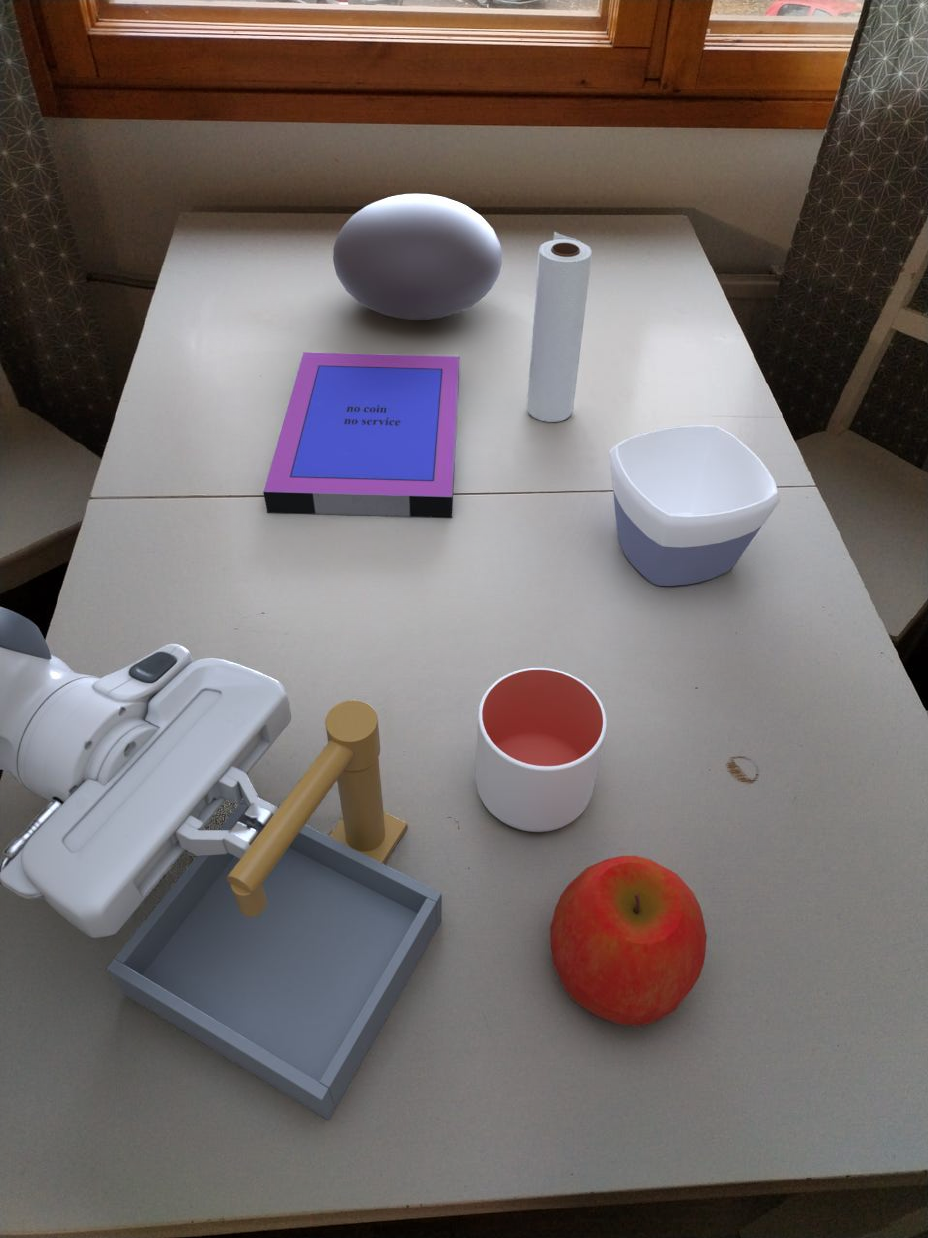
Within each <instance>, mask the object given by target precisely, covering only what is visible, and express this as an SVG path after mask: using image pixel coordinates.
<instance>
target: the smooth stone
mask: <svg viewBox="0 0 928 1238" xmlns="http://www.w3.org/2000/svg"><path fill="white" fill-rule="evenodd" d="M332 261H333V267H334V270H335V274H336V276H337V278H338V280H339V282H340V283H341V285H342V287H343V288H344V290H345V291H346V292H347V293H348V294H349V295H350V296H351V297H352V298H354V299H355V300H356V301H357V302H358V303H359V304H361V305H362V306H364V307H366V308H368V309H370V310H372V311H375V312H376V313H378V314H382V315H384V316H387V317H391V318H395V319H401V320H407V321H427V320H436V319H443V318H447V317H450V316H453V315H456V314H459V313H461V312H462V311H464V310H467V309H469V308H471V307H473V306H475V305H476V304H477V303H478V302H479V301H481V300H482V299H483V298H484V297H485V296H486V295H487V294H488V293H489V292H490V291H491V290H492V289H493V287H494V285H495V284H496V282H497V280H498V277H499V276H500V273H501V268H502V264H503V255H502V246H501V243H500V240H499V238H498V236H497V233H496V232H495V230H494V228H493V227H492V226H491V225H490V224H489V223H488V221H486V219H485V218H484V217H483V216H482V215H481V214H480V213H478V212H476V211H475V210H473V209H472V208H470V207H469V206H467V205H466V204H463V203H461V202H459V201H456V200H453V199H450V198H448V197H445V196H440V195H435V194H428V193H404V194H396V195H393V196H388V197H386V198H383V199H380V200H379V199H378V200H377V201H374V202H372V203H369V204H368V205H366V206H364V207H363V208H361V209H360V210H358V211H357V212H355V213H354V214H353V215H352V216H351V217H350V218H349V219H348V220H347V221H346V223H344V225H343V226H342V227H341V229H340V230H339V232H338V234H337V236H336V238H335V242H334V245H333V251H332Z"/></svg>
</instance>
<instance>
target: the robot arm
mask: <svg viewBox="0 0 928 1238" xmlns="http://www.w3.org/2000/svg"><path fill="white" fill-rule="evenodd" d="M289 700H290V699H289V697H288V693H287V690H286V689H285V687H284V685H283V684H282V683H281V681H279V680H277V679H275V678H273V677H271V676H270V675H267V674H265V673H262V672H261V671H258V670H256V669H252V668H250V667H247V666H245V665H242V664H239V663H236V662H233V661H231V660H226V659H223V658H216V657H205V658H200V659H197V660H194V658H193V657H192V654H191V653H190V651H189V649H188V648H187V647H185V646H183V645H181V644H178V643H168V644H166V645H164V646H162V647H159V648H158V649H156V650H154V651H153V652H151V653H150V654H147V655H146V656H144V657H142V658H140V659H138V660H136V661H135V662H133V663H131V664H129V665H127V666H125V667H123V668H121V669H119V670H116V671H113V672H111V673H109V674H107V675H104V676H102V677H98V676H96V675H91V674H90V675H89V674H82V673H79V672H78V673H77V672H76V671H74V670H73V669H71V668H70V667H69V666H68V664H67V663H65V662H64V661H63V660H61V659H60V658H58V657H57V656H55V655H54V654H51V651H50V648H49V646H48V643H47V641H46V640H45V638H44V635H43V634H42V631H41V630H40V627H39V626H37V624H35V623H34V622H33V621H32V620H31V619H29V618H27V617H25V616H23V615H21V614H20V613H18V612H15V611H13V610H10V609H8V608H5V607H2V606H0V770H2V771H6V772H8V773H11V775H12V776H13V777H14V778H15V779H16V780H17V781H18V783H19V784H20V785H21V786H23V787H24V788H26V789H27V790H29V791H31V792H32V793H34V794H36V795H38V796H39V797H42V798H43V799H44V800H45V799H46V800H47V801H49V802H48V803H47V804H46V805H45V806H44V808H43V809H41V810H40V812H38V813H37V814H36V815H35V817H34V818H33V819H32V821H31V822H30V823H29V824H28V826H26V828H25V829H24V830H22V832H21V833H20V834H19V835H17V836H15V837H14V838H13V839H12V840H11V841H9V843H8V845H7V846H6V847H5V848H4V849H3V850H2V851H3V852H2V855H3V859H2V861H1V862H0V883H1V885H2V886H3V888H6V889H7V890H8V891H11V892H12V893H13V894H16V895H17V896H19V897H20V898H24V899H27V900H39V899H44V900H45V901H46V902H47V904H49V905H50V906H51V908H53V909H54V910H55V912H57V913H58V914H59V915H60V916H62V917H63V918H64V919H65V920H66V921H67V922H69V923H70V924H71V925H72V926H74V927H75V928H76V929H78V930H79V931H81V932H82V933H84V934H85V935H87V936H89V937H90V938H92V939H98V938H105V937H112V936H115V935H116V934H117V933H118V932H119V931H120V930H121V929H122V927H123V926H124V925H125V924H126V923H127V922H128V920H129V919H130V918H131V916H132V915H133V914H134V913H135V911H136V910H137V909H138V908H139V907H140V906H141V904H142V903H143V902H144V901H145V900H146V898H147V897H148V896H149V895H150V894H151V892H152V891H153V889H155V887H157V885H158V884H159V883H160V881H161V880H162V879H163V877H164V876H165V875H166V874H167V873H168V871H169V870H170V869H171V868H172V867H173V866H174V865H175V863H176V862H177V861H178V859H179V858H180V856H182V854H183V853H184V852H185V851H186V852H188V853H190V854H192V855H195V856H196V857H197V856H205V855H220V854H227V853H230V854H232V855H234V856H236V857H238V858H239V859H241V858H242V856H243V855H244V854H245V852H246V851H247V850H248V848H249V847H250V846H251V844H252V843H253V842H254V840H255V839H256V838H257V836H258V835H259V833H258V832H261V831H262V830H263V828H264V827H265V826H266V824H267V823H268V822H269V820H270V819H271V818H272V816H273V815H274V814H275V812H276V811H277V810H278V808H279V807H277V806H276V805H274V804H273V803H270V802H268V801H267V800H265V799H262V798H261V797H259V794H258V792H257V791H256V789H255V787H254V786H253V785H254V784H252V782H251V780H250V778H249V776H248V774H249V773H250V772H251V771H252V769H253V768H254V767H255V766H256V765H257V763H258V762H259V761H260V760H261V759H262V758H263V756H264V755H265V754H266V752H267V751H268V750H269V749H270V748H271V747H272V745H274V743H275V742H276V740H277V739H278V738H279V736H280V735H282V733H283V732H284V730H285V729H286V728H287V727H288V726H289V725H290V723H291V721H292V711H291V705H290V704H291V703H290V701H289ZM243 799H244V800H245V802H246V804H247V806H248V807H249V808H248V809H247V810H246V812H245V813H244V816H245V819H246V820H247V822H246V823H247V826H248V828H249V829H247V826H246V825H244V824H242V823H240V822H237V823H236V824H235V825H234V826H233V828H232V829H231V830H230V831H229V830H218V829H206V825H207V824H208V823H209V822H210V821H211V819H212V818H213V817H214V816H215V814H217V812H218V811H219V809H220V808H221V807H222V806H223V805H224V803H225V802H226V801H228V802H231V803H233V804H235V805H239V804H240V802H241V801H242V800H243Z"/></svg>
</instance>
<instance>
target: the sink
mask: <svg viewBox="0 0 928 1238" xmlns="http://www.w3.org/2000/svg"><path fill="white" fill-rule="evenodd" d="M248 808H249V807H248V806H247V804H246V802H245V800H244V798H242V800H241V802H240V803H239V804H237V806H236V807H235V808H234V809H233V811H231V813H230V815H229V816H228V817H227V818H226V819H225V821H224V822H223V823H222V824H221V826H220V827H219V828H218V829H217V830H229V831H230V830H231V829H232V828H233V826H234V825H235V824H236V823H237V822H240V823H242V824H244V825H246V826H247V823H246V822H247V820H246V819H245V816H244V813H245V812H246V810H247V809H248ZM247 829H249V828H248V826H247ZM258 833H259V834H260V832H258ZM329 836H330V835H329ZM329 836H328V835H326V834H325V833H322V832H321V831H318V830H316V829H315V828H313V827H310V826H309V825H307V824H305V825H304V827H303V828H302V829H301V831H300V832H299V834H298V835H297V836H296V838H295V839H294V840H293V842H292V843H291V845H290V846H289V847H288V849H287V850H286V852H285V853H284V854H283V856H282V857H281V859H280V860H279V861H278V863H277V864H276V865H275V867H274V868H273V870H272V871H271V872H270V874H269V875H268V877H267V878H266V879H265V881H264V882H263V884H262V885H263V888H264V891H265V895H266V898H267V905H266V908H265V909H264V911H263V912H262V913H261V914H259V915H257V916H254V917H247V916H245V915H243V914H242V913H241V912H240V910H239V908H238V905H237V902H236V900H235V897H234V894H233V891H232V889H231V885H230V884H229V882H228V881H227V876H228V875H229V873H230V872H231V871H232V869H233V868H234V867H235V865H236V864H237V863H238V861H239V860H240V859H239V858H238V857H236V856H234V855H232V854H230V853H227V854H220V855H205V856H196V857H195V858H194V859H193V860H192V861H191V863H190V864H189V865H188V866H187V868H185V870H184V871H183V872H182V874H181V875H180V876H179V878H178V879H177V880H176V881H175V882H174V884H173V885H172V886H171V887H170V889H169V890H168V891H167V893H166V894H165V895H164V896H163V898H161V900H160V901H159V903H158V904H157V905H156V906H155V907H154V909H152V911H151V912H150V913H149V915H148V916H147V917H146V919H144V921H142V924H140V925H139V927H138V928H137V930H136V931H135V932H134V933H133V934H132V936H131V937H130V938H129V939H128V941H127V942H126V943H125V944H124V945H123V947H122V948H121V949H120V951H119V952H118V953H117V955H115V957H114V959H112V961H111V962H110V963H109V964H108V966H107V967H106V971H107V972H108V973H109V975H110V977H111V978H112V979H113V981H114V982H115V983H116V985H117V987H118V988H119V990H120V991H121V992H122V994H123V995H125V996H126V997H128V998H129V999H131V1000H133V1001H134V1002H135V1003H137V1004H139V1005H141V1006H143V1007H144V1008H145V1009H148V1010H149V1011H150V1012H153V1013H154V1014H155V1015H156V1016H159V1017H160V1018H162V1019H163V1020H165V1021H167V1022H168V1023H170V1024H171V1025H173V1026H175V1027H176V1028H178V1029H180V1030H181V1031H182V1032H184V1033H186V1034H187V1035H189V1036H191V1037H193V1038H194V1039H195V1040H197V1041H199V1042H201V1043H202V1044H203V1045H205V1046H207V1047H209V1048H210V1049H212V1050H213V1051H215V1052H217V1053H218V1054H220V1055H222V1056H223V1057H225V1058H226V1059H228V1060H229V1061H231V1062H233V1063H234V1064H236V1065H238V1066H239V1067H241V1068H242V1069H244V1070H246V1071H247V1072H249V1073H251V1074H252V1075H254V1076H256V1078H259V1079H261V1080H262V1081H264V1082H265V1083H267V1084H268V1085H270V1086H272V1087H273V1088H275V1089H276V1090H278V1091H280V1092H282V1093H283V1094H284V1095H286V1096H288V1097H290V1099H293V1100H294V1101H296V1102H298V1103H299V1104H301V1105H303V1106H304V1107H305V1108H307V1109H309V1110H311V1111H312V1112H314V1113H315V1114H317V1115H318V1116H320V1117H322V1118H324V1119H325V1120H327V1121H330V1119H331V1117H332V1115H333V1113H334V1112H335V1110H336V1108H337V1106H338V1105H339V1103H340V1101H341V1100H342V1098H343V1096H344V1094H345V1092H346V1091H347V1090H348V1087H349V1085H350V1084H351V1082H352V1080H353V1078H354V1076H355V1075H356V1073H357V1071H358V1070H359V1067H360V1066H361V1064H362V1063H363V1060H364V1059H365V1057H366V1055H367V1053H368V1052H369V1050H370V1048H371V1046H372V1045H373V1043H374V1041H375V1039H376V1037H377V1036H378V1034H379V1032H380V1030H381V1029H382V1027H383V1025H384V1024H385V1022H386V1020H387V1018H388V1017H389V1014H390V1013H391V1011H392V1009H393V1007H394V1006H395V1004H396V1003H397V1000H398V998H399V997H400V995H401V993H402V992H403V990H404V988H405V986H406V984H407V983H408V982H409V979H410V978H411V975H412V974H413V972H414V970H415V969H416V967H417V965H418V963H419V961H420V960H421V958H422V956H423V955H424V952H425V951H426V949H427V947H428V946H429V944H430V942H431V941H432V938H433V937H434V935H435V934H436V931H437V930H438V928H439V926H440V924H441V922H442V919H443V918H442V917H443V916H442V915H443V911H442V910H443V909H442V908H443V906H442V905H443V903H442V898H443V897H442V896H443V895H442V894H443V893H442V892H440V891H438V890H437V889H435V888H432V887H430V886H429V885H427V884H425V883H423V882H420V881H419V880H417V879H414V878H412V877H411V876H409V875H406V874H404V873H402V872H400V871H399V870H396V869H394V868H393V867H390V866H388V865H387V864H382V863H380V862H378V861H376V860H374V859H372V858H370V857H368V856H366V855H364V854H362V853H360V852H358V851H356V850H354V849H352V848H350V847H348V846H346V845H344V844H342V843H340V842H338V841H336V840H334V839H333V838H331V837H329Z"/></svg>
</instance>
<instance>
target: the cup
mask: <svg viewBox="0 0 928 1238" xmlns="http://www.w3.org/2000/svg"><path fill="white" fill-rule="evenodd" d="M607 724H608V720H607V714H606V709H605V707H604V705H603V703H602V701H601V699H600V698H599V696H598V695H597V693H596V692H595V690H593V689H592V688H591V687H590V686H589V685H588V684H586V683H585V682H584V681H582V680H581V679H579V678H578V677H576V676H574V675H572V674H570V673H567V672H564V671H562V670H557V669H553V668H547V667H530V668H522V669H519V670H515V671H512V672H509V673H507V674H505V675H503V676H501V677H500V678H499V679H497V680H496V681H495V682H493V683H492V684H491V685H490V687H489V688H488V689H487V690H486V691H485V693H484V694H483V696H482V698H481V700H480V703H479V707H478V712H477V733H476V734H477V735H476V757H475V786H476V790H477V792H478V795H479V797H480V800H481V802H482V803H483V805H484V806H485V807H486V809H487V810H488V811H489V812H490V813H491V815H492V816H494V818H496V819H497V820H499V821H500V822H502V823H503V824H505V825H507V826H509V827H511V828H514V829H517V830H520V831H524V832H532V833H543V832H551V831H554V830H555V831H556V830H558V829H561V828H563V827H565V826H567V825H569V824H571V823H573V822H574V821H575V820H576V819H578V818H579V817H580V815H582V813H583V812H584V811H585V810H586V808H587V807H588V806H589V803H590V801H591V799H592V796H593V792H594V789H595V785H596V784H595V783H596V779H597V775H598V770H599V765H600V760H601V756H602V753H603V752H602V751H603V746H604V743H605V738H606V733H607V729H608V728H607V726H608V725H607Z"/></svg>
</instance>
